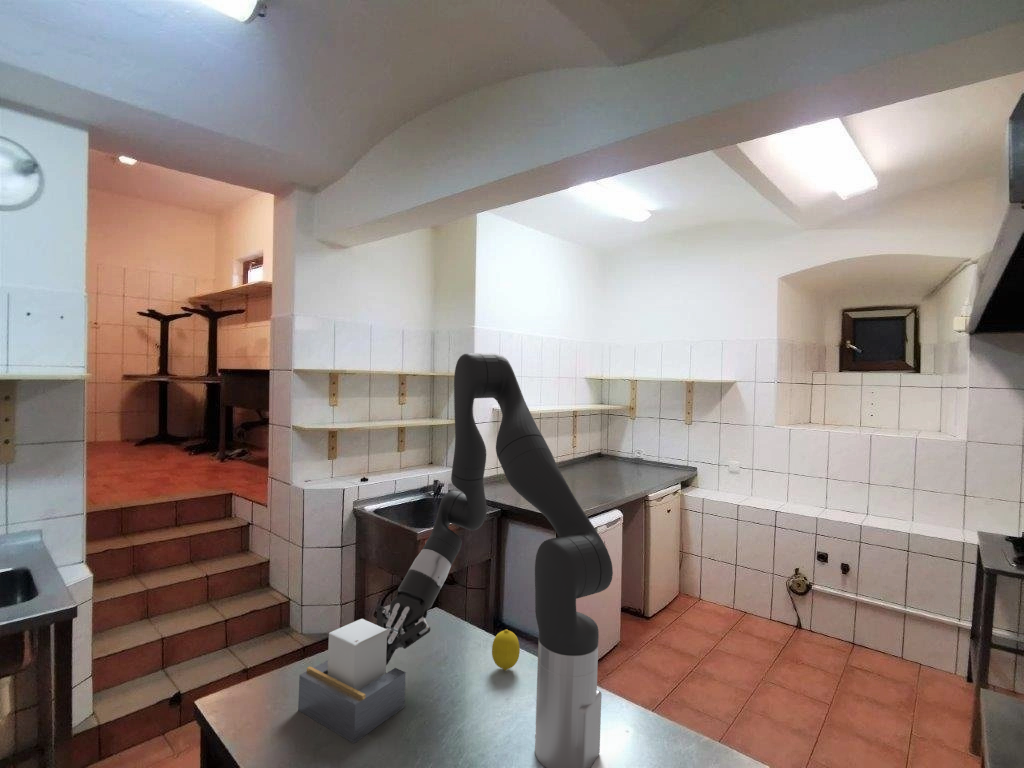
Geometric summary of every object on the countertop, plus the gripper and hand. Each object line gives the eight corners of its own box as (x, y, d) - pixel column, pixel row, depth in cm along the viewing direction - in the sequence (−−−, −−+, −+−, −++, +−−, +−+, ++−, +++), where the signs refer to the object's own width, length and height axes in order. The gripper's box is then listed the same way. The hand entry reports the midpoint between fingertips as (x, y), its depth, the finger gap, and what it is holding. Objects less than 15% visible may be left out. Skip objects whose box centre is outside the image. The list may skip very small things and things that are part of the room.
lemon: (519, 663, 102) (521, 624, 102) (517, 679, 97) (519, 637, 97) (493, 661, 103) (494, 622, 103) (489, 676, 97) (490, 635, 97)
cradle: (404, 707, 87) (405, 668, 87) (353, 743, 78) (355, 700, 78) (350, 680, 95) (351, 644, 95) (298, 710, 85) (299, 671, 85)
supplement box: (386, 700, 89) (389, 629, 89) (351, 722, 83) (354, 645, 83) (359, 685, 93) (362, 617, 93) (324, 704, 87) (327, 631, 87)
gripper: (392, 561, 103) (341, 646, 93) (442, 576, 96) (393, 669, 85) (410, 579, 107) (363, 662, 97) (458, 595, 100) (413, 686, 90)
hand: (377, 665), depth 91 cm, fingers closed
